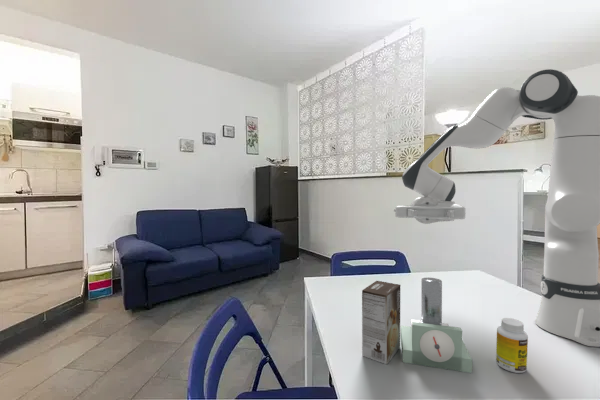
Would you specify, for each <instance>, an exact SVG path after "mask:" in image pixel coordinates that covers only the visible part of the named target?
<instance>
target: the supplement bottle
mask: <svg viewBox="0 0 600 400" xmlns="http://www.w3.org/2000/svg"><path fill="white" fill-rule="evenodd" d="M528 338H529V336H528V334H527V332H525V328H524V323H523V322H522V321H520V320H519V319H515V318H511V317H510V318H509V317H503V318H502V319H501V321H500V325H498V326H497V328H496V350H495V351H496V352H495V353H496V354H495V361H496V364H497V365H498V366H499V367H500V368H502V369H504V370H506V371H508V372H510V373H514V374H515V373H516V374H522V373H525V372H526V371H527V367H528V342H529V340H528Z"/></svg>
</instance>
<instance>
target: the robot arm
mask: <svg viewBox="0 0 600 400" xmlns="http://www.w3.org/2000/svg"><path fill="white" fill-rule="evenodd" d="M578 94H579V91H578V89H577V88H576V86H575V85H574V84H573V83H572V80H571V78H569V76H568V75H567V74H565V73H563V72H562V71H560V70H557V69H552V68H551V69H549V68H547V69H542V70H539V71H537V72H534V73H533V74H531V75H530V76H528V77H527V78H526V79H525V80H524V81H523V83H522V84H521V87H520V89H515V88H512V87H506V86H504V87H503V86H502V87H499V88H496V89H494V90H493V91H492V92H491V93H490V94H489V95H488V96H487V97H486V98H485V99H484V100H482V102H481V103H480V104H479V106H478V107H477V108H476V109H475V110H474V112H473V113H472V115H470V117H469V118H468V119H467V120H466V121H464V122H463V123H461V124H459V125H456V124H455V125H451V127H449V128H448V129H446V130H445V132H443V133H442V135H440V136H439V137H438V138H437V139H436V140H435V141H434V142H433V143H432V144H431V145H430V146H429V147H428V148H427V149H426V150H425V151H424V152H423V153H422V154H421V155H420V156H419V157H418V158H417V159H416V160H415V161H414V162H412V163H411V164H409V166H408V167H407V168H406V169H405V170H404V172H403V173H402V176H401V179H402V183H403V186H404V187H406V188H408V189H410V190H412V191H415V192H416V193H418V194H419V195H421V196H417V197H416V198H414V199H413V200H412V201H411V203H410V204H409V205H406V204H403V205H402V204H399V205H395V208H394V210H393V212H394V213H395V217H396V218H405V219H406V218H407V219H415V220H416V221H417V222H419V223H421V224H424V225H428V224H429V225H430V224H434V223H438V222H439V223H440V222H453V221H455V220H465V218H466V208H465V206H464V205H461V204H458V203H456V202H455V201H452V200H453V199H454V197H455V195H456V190H457V189H456V184H455V182H454V181H453V180H452V179H450V178H448V177H447V176H444V175H443V174H441V173H439V172H438V171H436V170H434V169H432V168H431V167H430V166H429V164H430V163H431V162H432V161H433V160H434V159H435V158H437V156H439V155H440V154H441V152H443V151H444V150H446V149H447V148H451V147H459V148H460V147H461V148H468V149H476V150H477V149H486V148H489V147H491V146H493V145H494V144H495V143H496V142H497V141H498V140H500V139H501V137H502V136H503V135H504V134H505V133H506V131H508V129H509V128H510V126H511V125H512V124H513V123H514V122H515V121H516V120H517V119H518V118H520V117H523V118H529V119H535V120H542V121H543V120H552V121H553V122H554V134H553V142H552V152H551V160H550V161H551V162H550V170H549V171H550V172H549V180H548V181H549V182H548V192H547V200H546V203H545V206H544V207H545V208H544V248H543V249H544V251H543V254H544V255H543V256H544V257H543V274H542V275H541V280H540V281H541V282H540V293H541V300H540V304H539V309H538V312H537V315H536V316H535V319H534V323H535V324H536V325H537V326H538V327H540V328H541V329H542V330H544V331H547V332H549V333H551V334H554V335H557V336H559V337H562V338H566V339H569V340H571V341H574V342H577V343H579V344H582V345H584V346H588V347H596V348H597V347H600V283H599V281H598V280H599V259H600V258H599V257H600V256H599V255H600V252H599V241H598V226H599V225H600V96H599V95H595V94H594V95H593V94H588V95H578Z"/></svg>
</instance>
